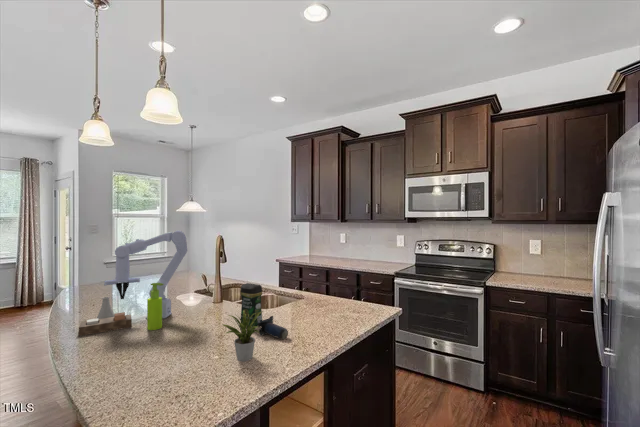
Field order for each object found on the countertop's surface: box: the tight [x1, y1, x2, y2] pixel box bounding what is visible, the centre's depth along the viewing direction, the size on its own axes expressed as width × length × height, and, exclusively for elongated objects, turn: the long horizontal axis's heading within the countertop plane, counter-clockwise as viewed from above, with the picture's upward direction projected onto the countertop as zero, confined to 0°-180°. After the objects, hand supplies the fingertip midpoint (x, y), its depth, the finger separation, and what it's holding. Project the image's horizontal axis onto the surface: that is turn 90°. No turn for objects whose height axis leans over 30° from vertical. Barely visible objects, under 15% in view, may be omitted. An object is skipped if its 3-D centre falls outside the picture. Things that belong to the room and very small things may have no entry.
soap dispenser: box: [146, 282, 164, 331], centre depth 142 cm, size 6×7×20 cm
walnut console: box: [78, 313, 133, 337], centre depth 142 cm, size 19×9×4 cm, turn 123°
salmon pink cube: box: [114, 311, 126, 321], centre depth 144 cm, size 4×4×4 cm
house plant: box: [221, 310, 264, 362], centre depth 112 cm, size 14×14×16 cm
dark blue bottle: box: [257, 315, 289, 340], centre depth 132 cm, size 9×8×12 cm
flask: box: [96, 296, 115, 319], centre depth 157 cm, size 7×7×10 cm
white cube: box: [86, 317, 99, 325], centre depth 139 cm, size 4×4×4 cm
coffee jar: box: [240, 282, 263, 328], centre depth 146 cm, size 10×8×19 cm
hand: (122, 298), depth 153 cm, fingers closed
